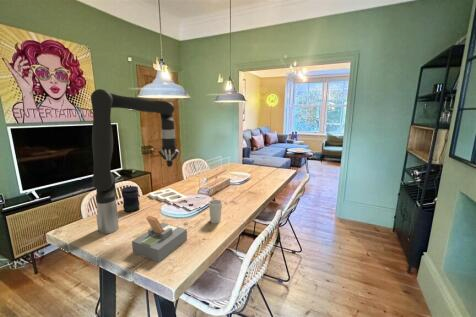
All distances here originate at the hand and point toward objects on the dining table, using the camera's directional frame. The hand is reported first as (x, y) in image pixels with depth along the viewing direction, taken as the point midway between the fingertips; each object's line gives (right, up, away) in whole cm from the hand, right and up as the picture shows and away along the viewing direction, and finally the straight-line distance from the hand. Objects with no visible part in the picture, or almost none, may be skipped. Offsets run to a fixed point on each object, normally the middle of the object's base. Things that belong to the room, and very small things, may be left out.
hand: (169, 166), depth 136 cm
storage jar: (-31, -30, +18) cm, 46 cm away
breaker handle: (+3, -32, -24) cm, 40 cm away
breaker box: (+2, -38, -23) cm, 45 cm away
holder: (-7, -27, +33) cm, 44 cm away
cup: (+27, -33, +4) cm, 43 cm away
